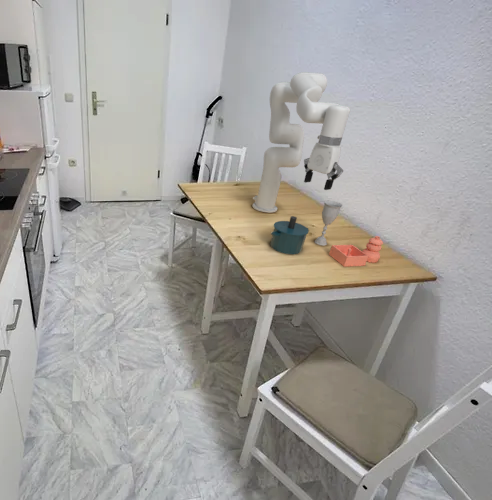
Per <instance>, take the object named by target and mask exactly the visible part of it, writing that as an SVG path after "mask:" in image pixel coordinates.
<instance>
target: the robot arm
mask: <svg viewBox="0 0 492 500" xmlns="http://www.w3.org/2000/svg"><path fill="white" fill-rule="evenodd" d="M327 87H328V78H327V76H326V75H325V74H324V73H321V72H306V71H301V72H297V73H296V74H295V75H293V76H292V77H291V79H290V81H281V82H277V83H275V84H274V85H273V86H272V88H271V90H270V93H269V107H270V121H269V133H268V139H269V142H270V143H271V144H275V145H288V146H271V147H269V148H267V149H265V151H264V154H263V166H262V173H261V179H260V183H259V186H258V187H259V188H258V192H257V195H255V196H253V197H252V200H253V201H254V202H253V203H252V205H251V206H252V209H254V210H255V211H258V212H261V213H266V214H267V213H269V214H270V213H276V212H277V211H278V206H277V205H276V204H277V199H278V194H279V191H280V187H281V183H282V172H281V170H280V168H297V167H298V166H299V165H300V163H301V162H302V156H303V148H304V142H305V141H304V140H305V130H304V127H303V126H302V125H301V124H298V123H290V119H291V111H290V109H289V107H288V106H287V104H286V103H289V104H290V103H291V104H296V108H295V109H296V114H297V115H298V117H299V118H300V120H302V122H304V123H306V124H321V125H322V126H321V129H320V130H321V131H320V134H319V135H318V136H317V140H318V141H317V142H315V144H314V146H313V148H312V150H311V153H310V156H309V157H307V158H304V159H303V163H304V166H303V167H304V168H305V170H304V172H305V176H304V180H303V183H311V182H312V179H313V175H314V172H317V173H321V174H322V175H323V174H324V175H326V176H327V179H326V180H325V183H324V187H323V190H324V191H329V190H331V189H332V188H333V184H334V181H336V180H337V179H339V177H341V175H342V174H343V173H344V169H343V168H342V167H341V166H340V165H339V162H340V156H341V151H342V150H341V149H342V147H341V144H342V140H343V136H344V133H345V130H346V127H347V122H348V121H349V118H350V117H349V116H350V113H351V108H350V107H349V106H347V105H341V104H340V103H337V102H327V101H320V100H321V98H322V96H323V93H324V92H326V91H325V90H326V89H327Z"/></svg>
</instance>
